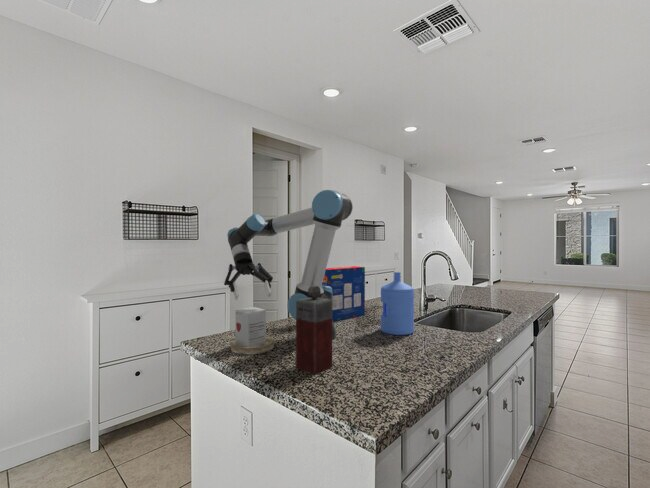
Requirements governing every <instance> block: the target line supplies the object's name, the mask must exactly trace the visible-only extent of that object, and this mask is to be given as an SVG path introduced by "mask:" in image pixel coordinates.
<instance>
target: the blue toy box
mask: <svg viewBox="0 0 650 488" xmlns="http://www.w3.org/2000/svg"><path fill="white" fill-rule="evenodd" d="M365 273H366V268H365V266H356V265H355V266H354V265H353V266H352V265H351V266H340V267H326V270H325V274H324V278H323V282H322V286H330V287H331V288H332V293H333V295H332V320H333V323H335V322H340V320H341V321H344V320H350V319H354V318H359V317H363V316H366V311H365V310H366V306H365V305H366V304H365V303H366V302H365V301H366V299H365V298H366V296H365V295H366V289H365V287H366V280H365V279H366V274H365Z"/></svg>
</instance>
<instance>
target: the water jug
mask: <svg viewBox="0 0 650 488" xmlns="http://www.w3.org/2000/svg"><path fill="white" fill-rule="evenodd" d="M401 278H402V276H401V272H399V271H396V272H395V271H394V273H393V281H391V282H388V283H387V284H385V285H383V286H381V288H380V302H382V314H381V315H380V331H382V332H383V333H385V334H388V335H393V336H406V335H407V336H408V335H411V334H413V333H414V331H415V326H414V325H415V319H414V317H415V306H414V305H415V304H414V303H415V300H414V299H415V289H414V287H413V286H411V285H409V284H407V283H405V282H403V281H401Z"/></svg>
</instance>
